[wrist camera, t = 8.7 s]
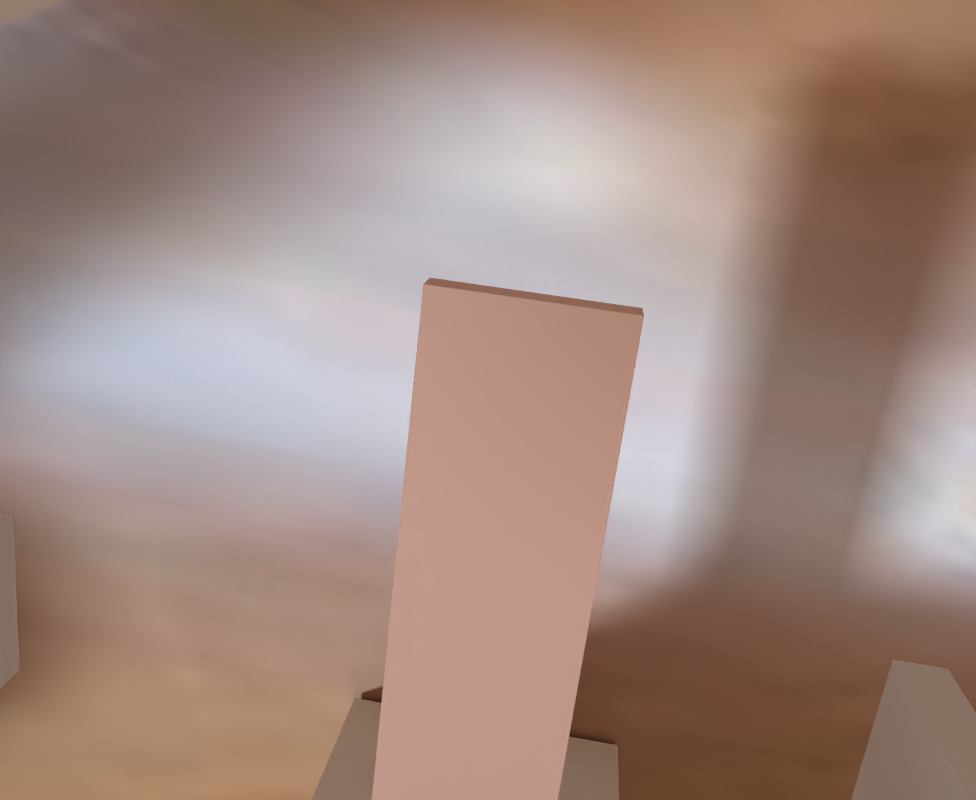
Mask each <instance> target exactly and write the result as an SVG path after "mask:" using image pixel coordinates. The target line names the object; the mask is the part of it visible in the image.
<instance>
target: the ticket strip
mask: <svg viewBox="0 0 976 800" xmlns="http://www.w3.org/2000/svg"><path fill="white" fill-rule="evenodd" d="M643 318H644V314H643V309H642V308H637V307H630V306H623V305H616V304H609V303H602V302H595V301H588V300H581V299H574V298H567V297H560V296H553V295H546V294H539V293H532V292H525V291H518V290H511V289H504V288H497V287H490V286H483V285H476V284H469V283H462V282H455V281H448V280H442V279H435V278H429V279H428V280H427V281H426V282H425V283H424V285H423V295H422V305H421V315H420V325H419V334H418V344H417V354H416V364H415V374H414V384H413V394H412V404H411V414H410V424H409V434H408V444H407V454H406V464H405V474H404V484H403V493H402V503H401V513H400V523H399V533H398V543H397V553H396V563H395V573H394V583H393V593H392V603H391V613H390V623H389V633H388V643H387V653H386V662H385V672H384V682H383V692H382V702H381V712H380V722H379V732H378V742H377V752H376V762H375V772H374V782H373V792H372V800H558V796H559V790H560V784H561V779H562V773H563V768H564V762H565V756H566V751H567V745H568V739H569V734H570V728H571V723H572V717H573V711H574V706H575V700H576V694H577V689H578V683H579V678H580V672H581V666H582V661H583V655H584V649H585V644H586V638H587V633H588V627H589V621H590V616H591V610H592V604H593V599H594V593H595V588H596V582H597V576H598V571H599V565H600V560H601V554H602V548H603V543H604V537H605V531H606V526H607V520H608V515H609V509H610V503H611V498H612V492H613V486H614V481H615V475H616V470H617V464H618V458H619V453H620V447H621V441H622V436H623V430H624V425H625V419H626V413H627V408H628V402H629V396H630V391H631V385H632V380H633V374H634V368H635V363H636V357H637V351H638V346H639V340H640V335H641V329H642V323H643Z"/></svg>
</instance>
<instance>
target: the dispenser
mask: <svg viewBox="0 0 976 800" xmlns="http://www.w3.org/2000/svg"><path fill="white" fill-rule="evenodd" d="M380 712H381V703H380V702H374V701H369V700H363V699H358V698H355V699H354V701H353V703H352V706H351V708H350V710H349V713H348V715H347V717H346V720H345V722H344V725H343V727H342V729H341V732H340V734H339V736H338V739H337V741H336V743H335V746H334V748H333V751H332V753H331V755H330V758H329V760H328V762H327V765H326V767H325V769H324V772H323V774H322V776H321V779H320V781H319V784H318V786H317V788H316V791H315V793H314V795H313V798H312V800H372V792H373V782H374V772H375V762H376V752H377V742H378V732H379V722H380ZM558 800H619V774H618V745H613V744H608V743H602V742H597V741H591V740H586V739H580V738H575V737H569V739H568V745H567V751H566V756H565V762H564V768H563V773H562V779H561V784H560V790H559V796H558Z"/></svg>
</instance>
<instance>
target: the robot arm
mask: <svg viewBox="0 0 976 800" xmlns="http://www.w3.org/2000/svg"><path fill="white" fill-rule="evenodd" d="M19 670H20V665H19V641H18V616H17V592H16V567H15V543H14V518H13V515H11V514H5V513H0V689H1V688H2V687H3V686H4V685H5V684H6V683H7V682H8V681H9V680H10V679H11V678H12V677H13V676H14V675H15V674H16V673H17V672H18V671H19ZM851 800H976V712H975V710H974V709H973V707H972V706H971V704H970V703H969V701H968V700H967V698H966V696H965V695H964V693H963V692H962V690H961V689H960V687H959V685H958V684H957V682H956V681H955V679H954V678H953V676H952V674H951V673H950V671H949V670H948V668H942V667H936V666H930V665H924V664H918V663H912V662H906V661H900V660H894V659H893V660H892V663H891V667H890V670H889V673H888V677H887V680H886V683H885V687H884V690H883V693H882V697H881V700H880V704H879V707H878V710H877V714H876V717H875V720H874V724H873V727H872V730H871V734H870V737H869V740H868V744H867V747H866V751H865V754H864V757H863V761H862V764H861V767H860V771H859V774H858V777H857V781H856V784H855V788H854V791H853V794H852V798H851Z"/></svg>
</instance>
